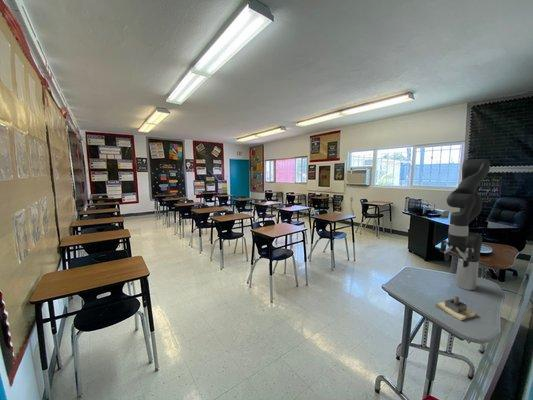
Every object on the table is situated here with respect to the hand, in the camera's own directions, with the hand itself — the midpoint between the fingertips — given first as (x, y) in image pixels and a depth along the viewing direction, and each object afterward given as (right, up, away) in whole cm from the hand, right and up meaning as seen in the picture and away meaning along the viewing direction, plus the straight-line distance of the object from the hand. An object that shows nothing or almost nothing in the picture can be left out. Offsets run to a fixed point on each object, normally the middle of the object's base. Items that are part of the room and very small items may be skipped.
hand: (455, 263), depth 116 cm
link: (-2, -22, -2) cm, 22 cm away
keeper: (-2, -23, -2) cm, 23 cm away
